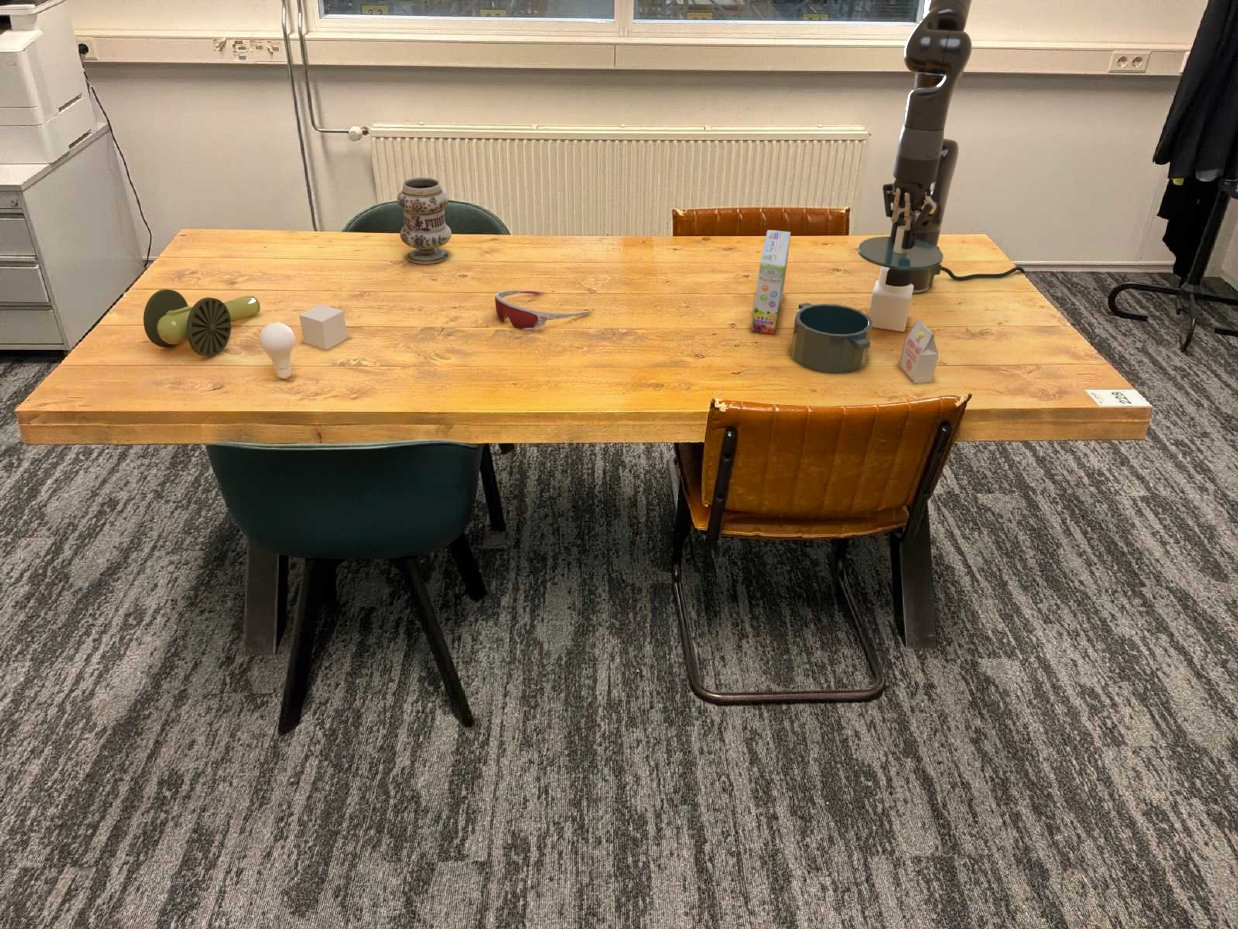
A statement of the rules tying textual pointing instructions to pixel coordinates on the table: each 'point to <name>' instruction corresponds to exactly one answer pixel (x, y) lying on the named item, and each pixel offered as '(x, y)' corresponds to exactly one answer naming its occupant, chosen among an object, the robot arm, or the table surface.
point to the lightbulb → (278, 347)
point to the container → (891, 299)
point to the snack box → (771, 281)
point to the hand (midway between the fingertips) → (901, 245)
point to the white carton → (919, 354)
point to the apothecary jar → (424, 220)
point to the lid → (899, 253)
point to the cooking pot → (830, 338)
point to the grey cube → (323, 326)
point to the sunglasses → (525, 312)
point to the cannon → (194, 320)
